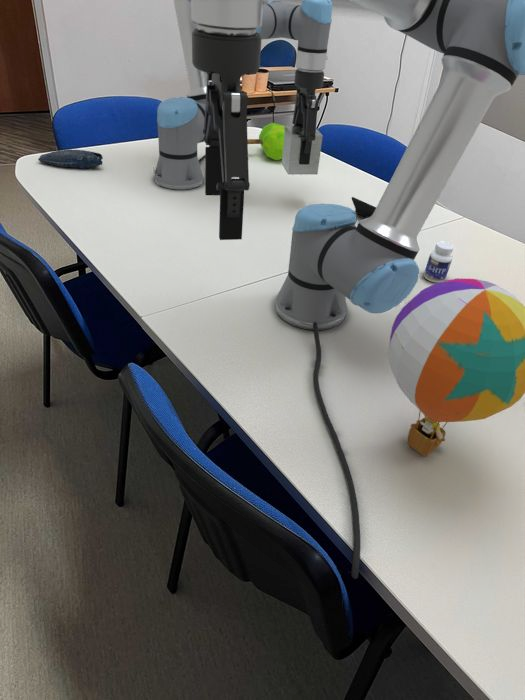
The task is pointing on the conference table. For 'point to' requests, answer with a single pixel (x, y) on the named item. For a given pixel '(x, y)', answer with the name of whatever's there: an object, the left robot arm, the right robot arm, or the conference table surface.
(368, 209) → the handheld gaming console
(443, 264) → the pill bottle
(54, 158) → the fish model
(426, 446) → the toy
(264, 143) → the decorative tree
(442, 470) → the conference table surface
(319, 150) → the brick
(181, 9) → the left robot arm
